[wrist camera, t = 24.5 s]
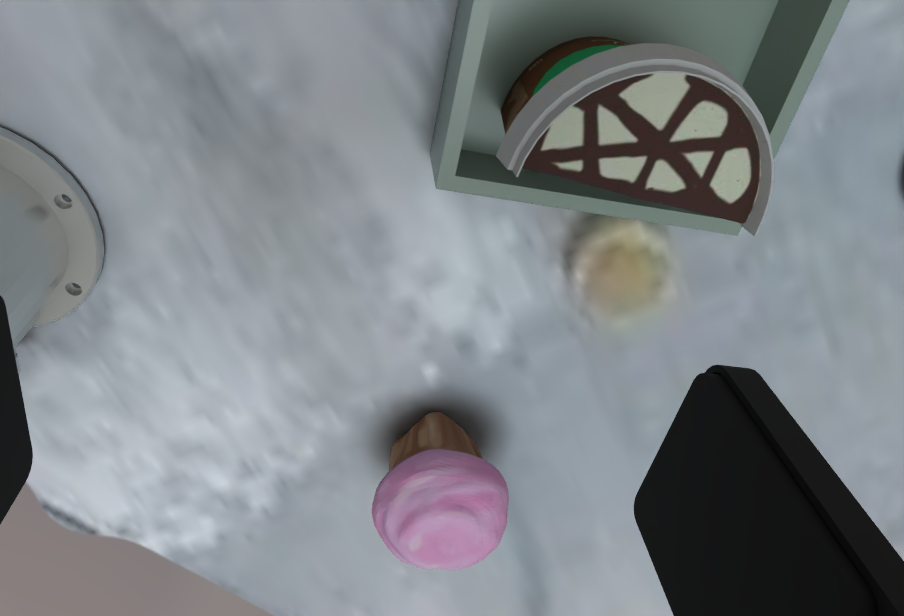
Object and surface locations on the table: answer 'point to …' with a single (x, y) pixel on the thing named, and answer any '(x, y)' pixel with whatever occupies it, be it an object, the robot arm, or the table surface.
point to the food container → (642, 127)
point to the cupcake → (440, 498)
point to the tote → (634, 22)
